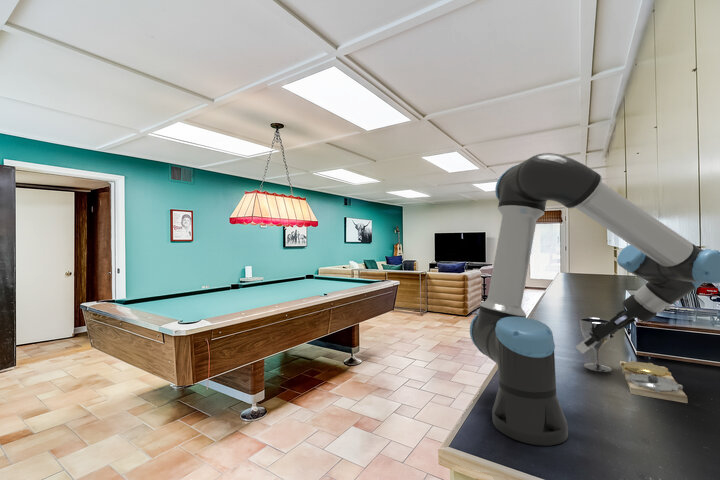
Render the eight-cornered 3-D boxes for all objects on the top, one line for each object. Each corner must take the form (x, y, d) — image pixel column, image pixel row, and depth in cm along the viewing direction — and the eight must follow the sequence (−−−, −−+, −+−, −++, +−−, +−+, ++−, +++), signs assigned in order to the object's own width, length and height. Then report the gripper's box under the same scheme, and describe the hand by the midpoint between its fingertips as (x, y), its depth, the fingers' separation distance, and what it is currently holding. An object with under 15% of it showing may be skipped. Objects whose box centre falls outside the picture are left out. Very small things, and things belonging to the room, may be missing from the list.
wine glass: (602, 363, 107) (600, 317, 107) (619, 372, 99) (616, 322, 99) (577, 363, 108) (574, 317, 108) (591, 371, 100) (589, 322, 100)
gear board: (689, 403, 81) (688, 389, 81) (629, 393, 87) (628, 380, 87) (666, 371, 101) (665, 360, 101) (619, 365, 107) (618, 355, 107)
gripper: (648, 319, 85) (581, 364, 98) (666, 309, 98) (605, 351, 110) (622, 297, 90) (561, 343, 102) (642, 290, 102) (586, 332, 114)
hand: (584, 347), depth 106 cm, fingers closed on wine glass, 7 cm apart
